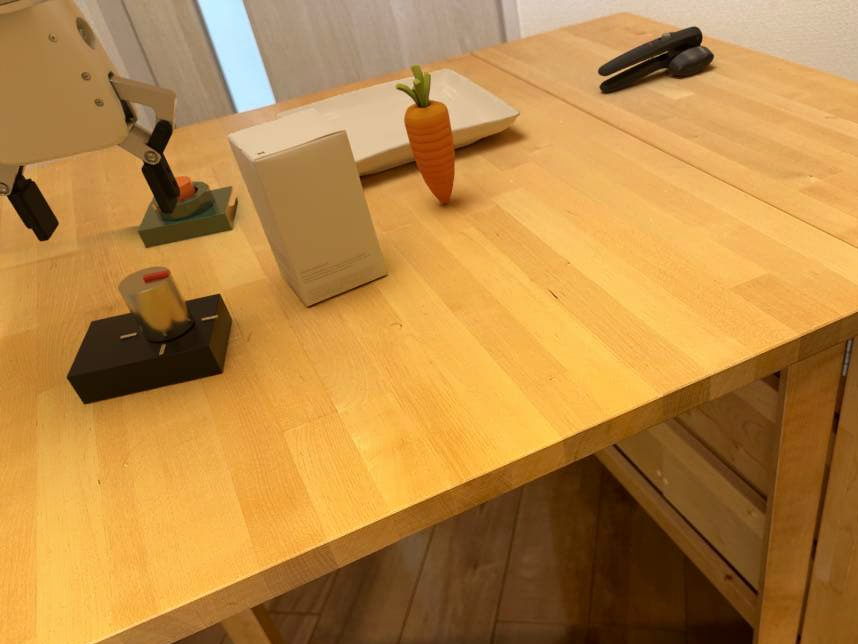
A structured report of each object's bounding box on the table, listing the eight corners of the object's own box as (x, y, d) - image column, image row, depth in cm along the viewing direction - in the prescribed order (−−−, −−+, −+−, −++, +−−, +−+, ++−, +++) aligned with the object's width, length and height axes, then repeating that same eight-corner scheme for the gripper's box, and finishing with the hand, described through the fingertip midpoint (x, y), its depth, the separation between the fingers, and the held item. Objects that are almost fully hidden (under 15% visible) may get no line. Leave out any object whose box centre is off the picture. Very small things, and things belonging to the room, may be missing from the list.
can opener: (692, 58, 116) (692, 18, 112) (718, 69, 111) (719, 27, 107) (587, 87, 112) (584, 47, 108) (610, 100, 106) (607, 58, 103)
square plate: (527, 139, 100) (523, 109, 97) (325, 201, 92) (315, 171, 90) (453, 88, 119) (448, 62, 116) (281, 136, 112) (272, 110, 109)
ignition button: (163, 206, 88) (156, 192, 87) (168, 193, 91) (161, 179, 90) (194, 199, 89) (188, 185, 87) (198, 187, 91) (192, 173, 90)
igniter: (146, 248, 89) (129, 217, 86) (157, 218, 95) (143, 188, 92) (232, 230, 90) (218, 198, 87) (238, 202, 96) (225, 171, 93)
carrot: (455, 215, 85) (426, 76, 76) (417, 212, 87) (383, 77, 77) (473, 194, 89) (447, 59, 79) (436, 193, 90) (405, 60, 81)
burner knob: (140, 346, 67) (110, 295, 63) (149, 319, 70) (121, 269, 66) (190, 335, 67) (164, 283, 63) (197, 309, 70) (172, 258, 67)
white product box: (391, 275, 77) (348, 128, 67) (307, 309, 74) (249, 160, 64) (358, 243, 83) (314, 104, 73) (279, 273, 80) (223, 133, 70)
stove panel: (83, 404, 66) (64, 376, 64) (106, 346, 73) (90, 319, 71) (225, 372, 67) (211, 343, 65) (235, 318, 74) (222, 290, 72)
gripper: (126, -49, 54) (223, 179, 65) (-126, -1, 53) (16, 223, 64) (102, -31, 48) (213, 216, 59) (-182, 24, 47) (-15, 266, 58)
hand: (111, 220), depth 61 cm, fingers open, 9 cm apart
